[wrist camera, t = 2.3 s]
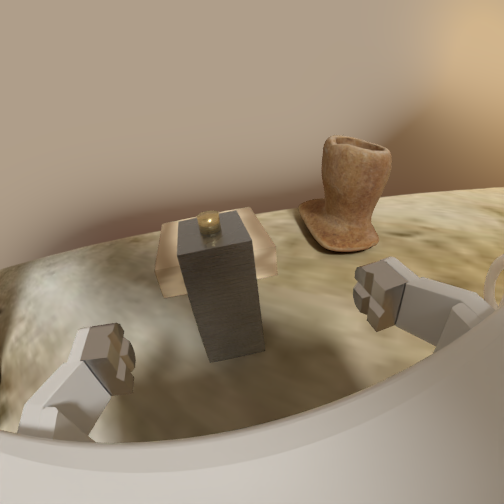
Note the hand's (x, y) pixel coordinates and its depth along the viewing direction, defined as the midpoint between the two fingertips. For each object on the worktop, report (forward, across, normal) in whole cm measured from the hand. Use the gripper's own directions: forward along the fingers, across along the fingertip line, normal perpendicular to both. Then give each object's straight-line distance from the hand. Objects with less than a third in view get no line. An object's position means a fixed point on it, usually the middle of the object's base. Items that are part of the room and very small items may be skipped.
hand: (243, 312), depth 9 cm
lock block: (+12, 0, +13) cm, 18 cm away
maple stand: (+27, 0, +13) cm, 30 cm away
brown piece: (+27, -20, +14) cm, 36 cm away
